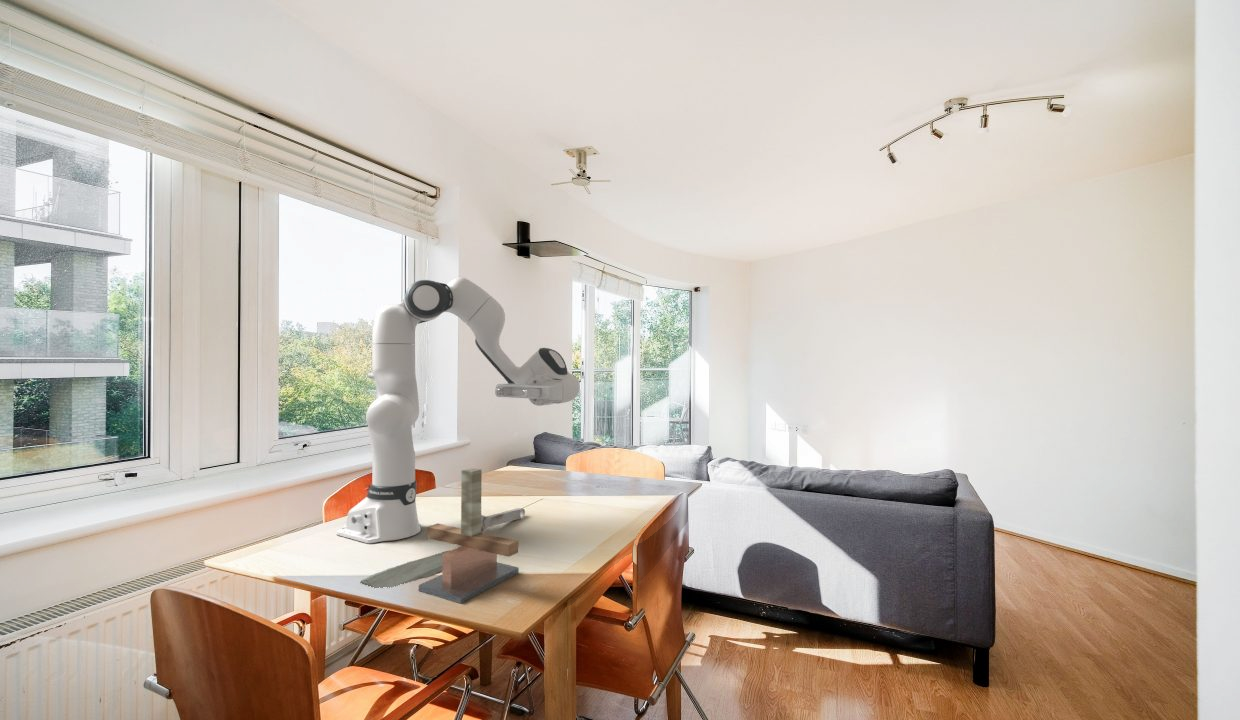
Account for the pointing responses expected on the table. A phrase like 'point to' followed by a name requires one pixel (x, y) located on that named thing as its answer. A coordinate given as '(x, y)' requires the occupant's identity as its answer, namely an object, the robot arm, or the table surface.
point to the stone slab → (406, 572)
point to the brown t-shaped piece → (472, 522)
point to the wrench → (501, 518)
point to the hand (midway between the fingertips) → (510, 392)
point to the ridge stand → (467, 574)
